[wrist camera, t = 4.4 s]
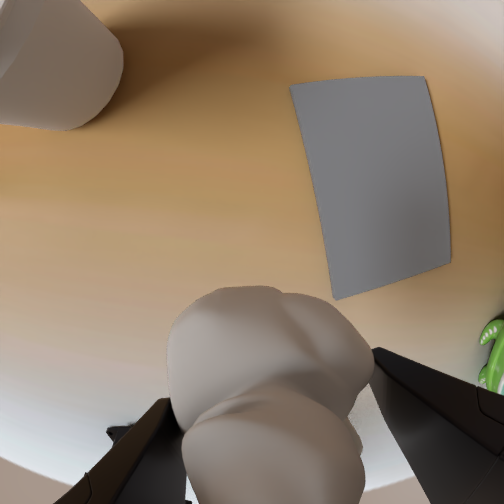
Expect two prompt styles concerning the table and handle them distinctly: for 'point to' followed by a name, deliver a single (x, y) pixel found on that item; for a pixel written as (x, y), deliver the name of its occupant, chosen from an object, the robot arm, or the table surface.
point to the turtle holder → (494, 357)
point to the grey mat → (375, 178)
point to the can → (55, 64)
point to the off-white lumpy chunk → (268, 397)
